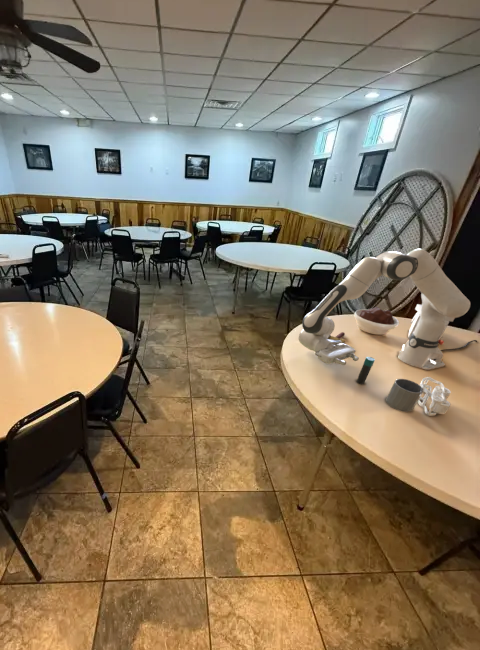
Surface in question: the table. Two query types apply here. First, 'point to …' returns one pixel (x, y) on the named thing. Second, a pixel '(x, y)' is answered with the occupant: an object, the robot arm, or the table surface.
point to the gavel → (337, 337)
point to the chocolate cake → (375, 320)
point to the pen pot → (404, 395)
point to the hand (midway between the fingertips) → (351, 361)
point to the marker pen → (365, 370)
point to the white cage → (435, 397)
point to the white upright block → (417, 317)
